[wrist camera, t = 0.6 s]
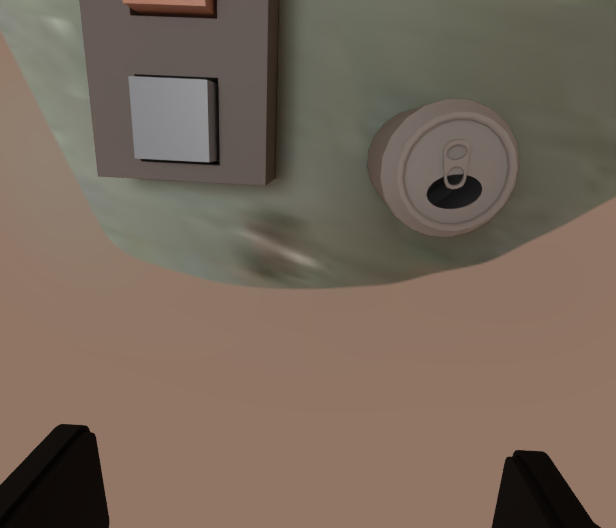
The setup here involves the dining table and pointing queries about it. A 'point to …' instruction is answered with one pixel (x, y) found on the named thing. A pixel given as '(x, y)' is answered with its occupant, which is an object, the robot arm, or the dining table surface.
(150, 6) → the terracotta key
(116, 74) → the key panel
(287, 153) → the dining table surface
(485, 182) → the can
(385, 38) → the dining table surface
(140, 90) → the slate key
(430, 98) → the dining table surface
